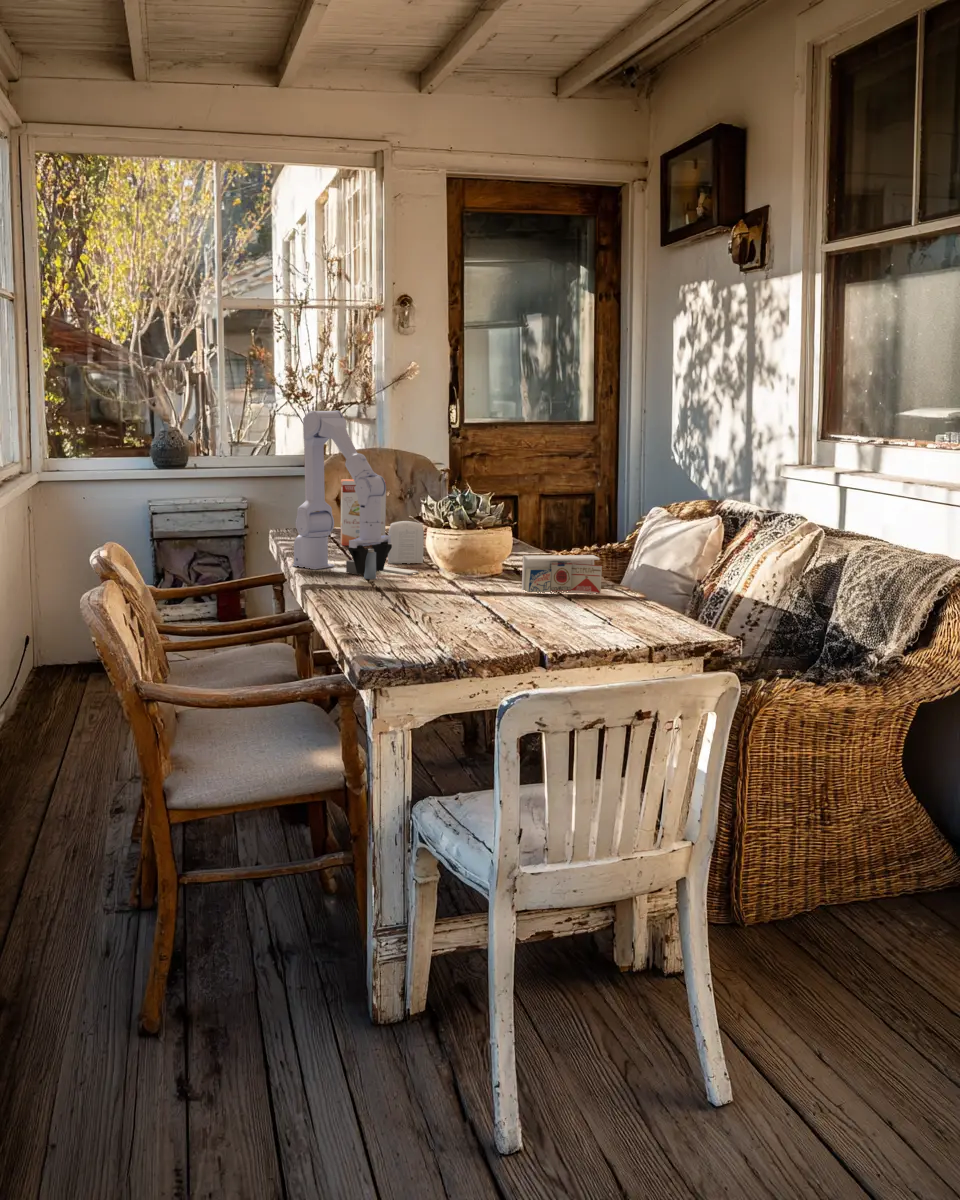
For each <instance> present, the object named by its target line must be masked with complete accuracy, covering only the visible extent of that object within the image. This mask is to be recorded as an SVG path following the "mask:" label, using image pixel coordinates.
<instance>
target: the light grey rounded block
mask: <svg viewBox="0 0 960 1200" xmlns="http://www.w3.org/2000/svg"><path fill="white" fill-rule="evenodd" d="M424 533H425V532H424V527H423V524H422V523H419V522H418V521H417V522H416V521H411V520H410V521H409V520H402V521H401V520H400V521H394V522H392V523H390V524H389V529H388V536H391V543H388V544H392V548H391V550H390V551H389V553H388V556H387V563H388V564H392V565H393V564H394V565H396V564H399V565H400V564H401V565H403V564H402V563H407V564H406V565H411V564H410V563H423V564H424V544H425V543H424V542H425V540H424V539H425V534H424Z"/></svg>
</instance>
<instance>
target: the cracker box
mask: <svg viewBox="0 0 960 1200" xmlns="http://www.w3.org/2000/svg"><path fill="white" fill-rule="evenodd" d="M384 481H385V483H386V484H387V481H386V480H385V479H384ZM355 487H356V483H355V481H354V480H353V478H348V479H347V478H345V479H344V478H343V479H341V480H340V543H341V546H345V547H346V546H348V547H349V540H353V539H356V538H359V537H360V504H359V503H358V497H357V495H356V492H355ZM386 509H387V491H386V492H385V494H384V495H383V496H382V497H381V536H382V535H386V523H387V522H386V519H387V516H386V515H387V510H386ZM369 546H371V547H372V545H369Z"/></svg>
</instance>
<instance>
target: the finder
mask: <svg viewBox="0 0 960 1200" xmlns="http://www.w3.org/2000/svg"><path fill="white" fill-rule="evenodd" d="M345 565H346V567H345V572H349V573H348V574H352V573H354V574H353V575H358V573H357V571H356V567H355V563H354V560H353V559H350V560H346V561H345ZM377 571H378V572H380V571H379V570H376V573H377ZM359 575H360V574H359Z"/></svg>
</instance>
